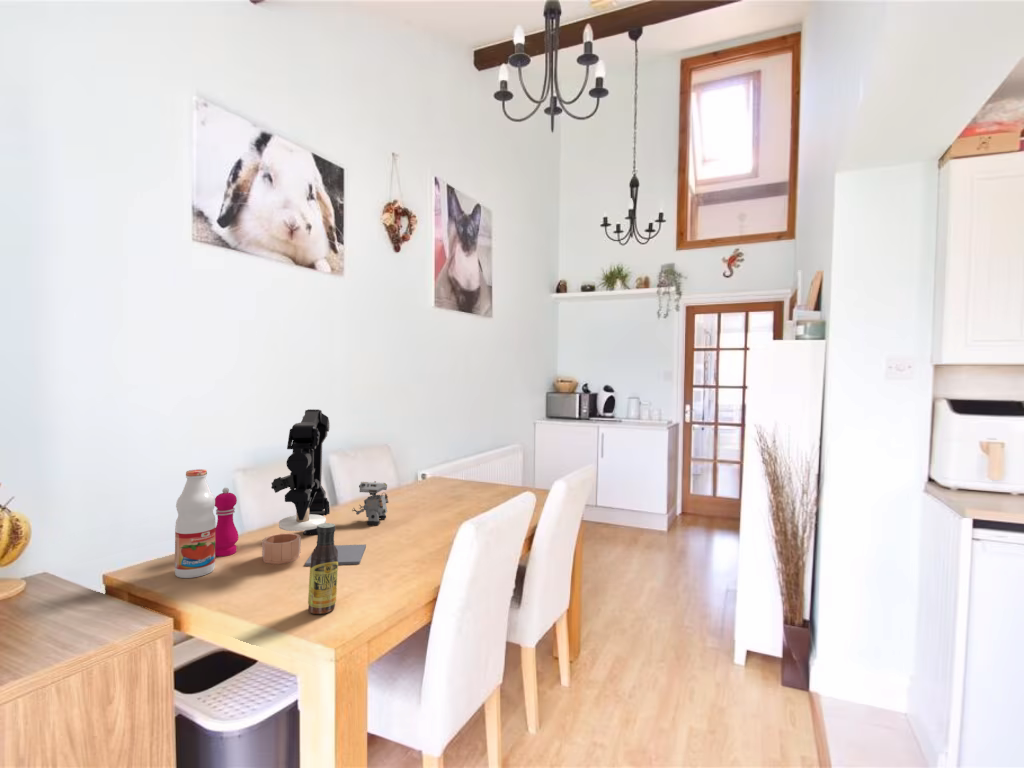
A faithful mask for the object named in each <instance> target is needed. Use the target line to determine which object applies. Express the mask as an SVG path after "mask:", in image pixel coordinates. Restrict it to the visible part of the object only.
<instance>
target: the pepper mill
mask: <svg viewBox="0 0 1024 768" xmlns="http://www.w3.org/2000/svg"><path fill="white" fill-rule="evenodd" d="M221 491H222V493H219V494H218V495H216V496H215V506H214V508H216V509H215V516H217V520H216V521H217V522H216V527H215V557H228V556H231V555H234V554H236V552H238V551H237V550H238V548H237V547H238V546H237V545H236V544H237V542H238V540H239V533H238V530H237V527H236V526H235V522H234V514H235V512H236V511H235V510H236V508H235V506H236V504H237V503H238V499H237V497H236V495H235V493H232V492H230V490H229V488H228V487H224V488H223V489H222V490H221Z"/></svg>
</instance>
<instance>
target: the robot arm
mask: <svg viewBox="0 0 1024 768" xmlns="http://www.w3.org/2000/svg"><path fill="white" fill-rule="evenodd" d="M328 432H330V419H329V417H328V416H327V415H326V414H324V413H323V412H322V410H321V409H320V408H319V409H314V408H313V409H307V410H306V409H305V411H304V415H303V416H302V420H301V422H296V423H294V424H293V425H292V427H291V428H289V432H288V441H287V446H286V449H287V450H292V453H291V454H290V455H289V456H288V457H287V460H286V467H287V469H288V471H290V473H289V475H286V476H285V475H284V477H281V476H278V477H277V478H274V479H273V481H272V482H271V489H272V490H273V491H274V493H275V494H276V493H278V492H280V491H282V490H286V489H288V488H289V491H288V492H286V494H284V502H285V503H292V504H293V505H294V507H295V511H296V510H297V514H298V518H299V520H303V519H304V517H305V514H306V512H307V509H308V508H309V514H315V515H321V516H324V517H325V516H328V515H330V513H331V512H330V501H329V499H328V497H327V493H326V490H325V488H324V487H323V486H322V475H323V473H322V472H323V471H322V469H323V466H322V465H323V443H324V442H325V440H326V439H327V437H328ZM302 535H318V533H317V528H315V529H311V530H304V531H303V532H302Z"/></svg>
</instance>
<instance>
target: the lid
mask: <svg viewBox="0 0 1024 768" xmlns="http://www.w3.org/2000/svg"><path fill="white" fill-rule="evenodd" d="M295 512H296V515H291V516H287V517H284V518H282V519H281V520H279V521H278V528H279V529H280V530H283V531H286V532H287V531H289V532H294V531H295V532H302V531H303V532H304V531H305V530H311V529H315V528H317V526H318V525H319V524H323V523H327V518H326V516H325V515H324V516H321V515H315V514H309V508H308V509H307V512H306V514H305V517H304V519H303V520H299V518H298V514H297V510H296V509H295Z"/></svg>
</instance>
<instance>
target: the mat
mask: <svg viewBox="0 0 1024 768" xmlns="http://www.w3.org/2000/svg"><path fill="white" fill-rule="evenodd" d="M334 545H335V544H334ZM335 547H336V548H337V550H338V566H341V565H345V566H347V565H349V566H350V565H361V561H362V559H363V557H364V554H365V551H366V548H367V544H342V545H341V544H339V545H337V544H336V545H335ZM311 555H312V553H311V554H310V556H309V557H308V559H307V560H306V562H305V567H310V565H311Z"/></svg>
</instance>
